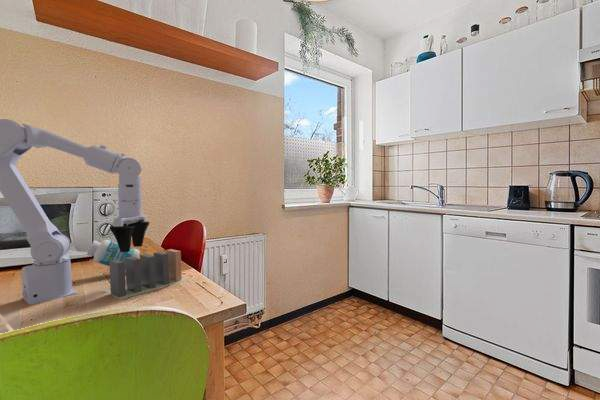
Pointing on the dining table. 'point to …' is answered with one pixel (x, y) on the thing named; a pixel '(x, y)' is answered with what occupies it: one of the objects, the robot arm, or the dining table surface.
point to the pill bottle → (110, 252)
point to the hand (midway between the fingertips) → (131, 248)
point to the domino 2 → (133, 274)
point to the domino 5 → (174, 264)
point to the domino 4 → (161, 268)
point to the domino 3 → (148, 271)
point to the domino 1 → (117, 278)
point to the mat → (146, 289)
